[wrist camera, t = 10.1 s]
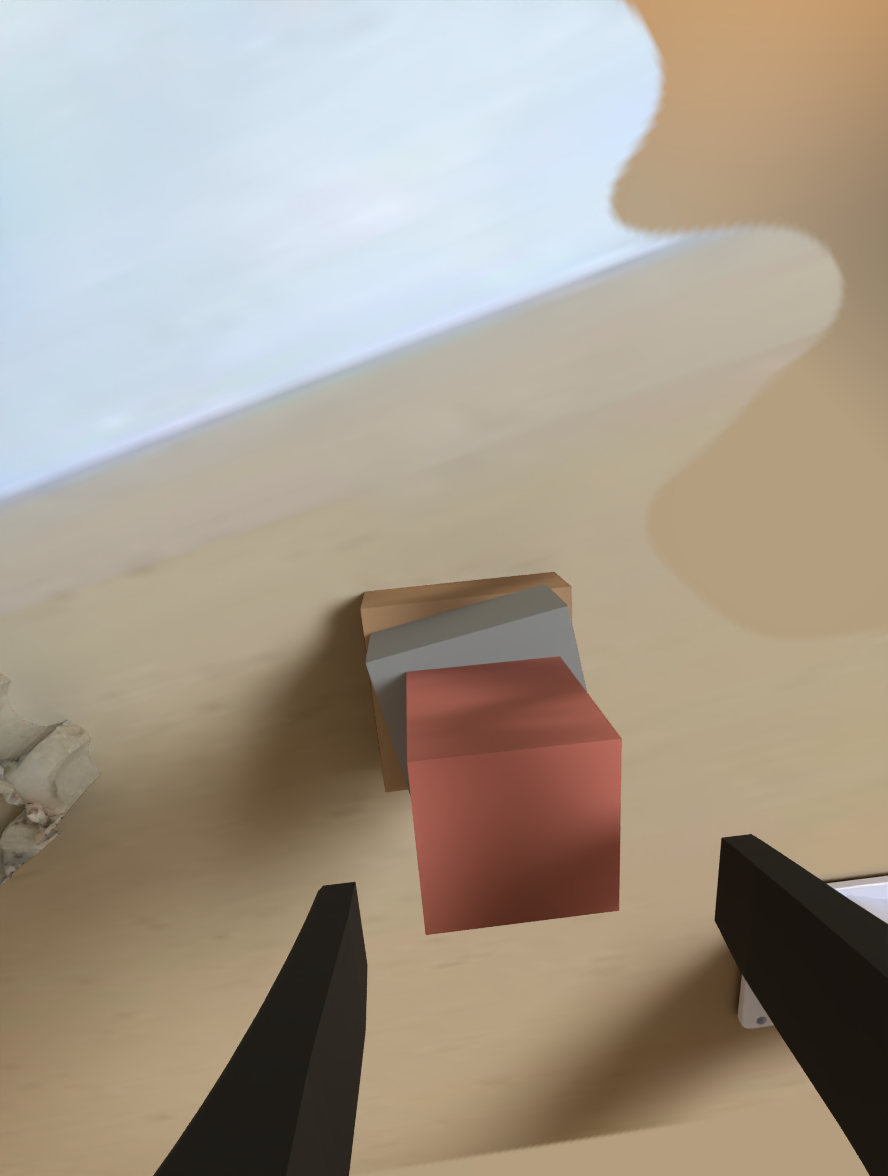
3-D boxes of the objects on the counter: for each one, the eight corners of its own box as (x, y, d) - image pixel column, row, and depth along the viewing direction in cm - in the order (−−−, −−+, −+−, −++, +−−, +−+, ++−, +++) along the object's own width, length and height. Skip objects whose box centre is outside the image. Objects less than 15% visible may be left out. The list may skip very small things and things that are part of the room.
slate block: (545, 583, 17) (567, 605, 15) (580, 738, 19) (605, 780, 17) (370, 633, 17) (365, 663, 15) (420, 783, 19) (422, 831, 17)
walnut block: (550, 568, 20) (571, 586, 17) (555, 732, 22) (575, 768, 19) (365, 588, 19) (360, 608, 17) (387, 752, 21) (385, 792, 19)
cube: (559, 656, 15) (621, 738, 11) (562, 788, 16) (619, 910, 12) (406, 671, 15) (406, 762, 11) (420, 805, 16) (425, 935, 12)
